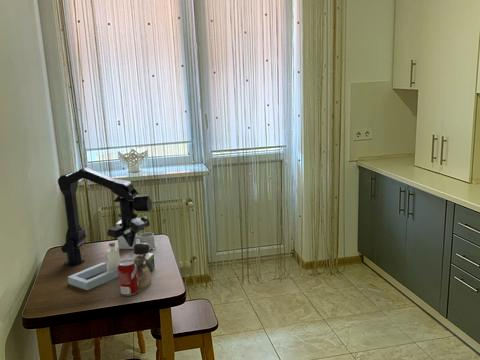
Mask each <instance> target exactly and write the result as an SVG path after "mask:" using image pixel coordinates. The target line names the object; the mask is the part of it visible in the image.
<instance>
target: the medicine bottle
mask: <svg viewBox="0 0 480 360" xmlns="http://www.w3.org/2000/svg"><path fill="white" fill-rule="evenodd" d="M144 253H145V254H146V256H145V258H146V259H147V261H148V266H147V267H148V269H149V271H150V274H151V275H152V273H153V272H154V271H155V269H156V265H155V263H156V262H155V255H154V253H153V252H150V251H149V245H148V244H146V243H140V242H138V244H136V245H135V246H134V248H133V255H134V256H132V258H130V260H133V261H134V258H135V257H136V256H137V255H138V254H140V255H141V256H142V255H143V254H144ZM143 264H146V261H144V262H143Z"/></svg>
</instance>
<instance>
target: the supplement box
mask: <svg viewBox="0 0 480 360" xmlns="http://www.w3.org/2000/svg"><path fill="white" fill-rule="evenodd" d="M120 223H121V219H119V221H117V222H116V223H115V227H118V228H122V226H120ZM136 236H138V232H137V233H136V235H135V237H136ZM116 239H117V249H119V250H134V246H135V245H134V243H133V246H132V247H130V246H129V245H128V243H127V242H126V240H125V239H124V237H123V236H120V237H117V238H116ZM136 244H139V240H138V239H136Z"/></svg>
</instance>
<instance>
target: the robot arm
mask: <svg viewBox="0 0 480 360" xmlns="http://www.w3.org/2000/svg"><path fill="white" fill-rule="evenodd" d="M83 179H85V180H87V181H89V182H92V183H94V184H97V185H99V186H102V187H103V188H107V189H108V190H110V191H111V192H112V193H113V194H114V195H116V196H117V197H116V198H115V199H114V200H113V202H114V203H118V204H119V211H120V212H119V214H118V217H119V218H120V220H121V223H120V226H122V228H118V227H116V226H114V227H111V228H108V230H106V231H107V237H112V238H116V239H117V237H120V236H123V237H124V239H125V240H126V242H127V243H128V245H129V246H130V247H132V246H133V243H134V239H135V235H136V233H137V234H138V233H139V232H140V231H144V230H145V228H147V227H150V226H151V223H150V220H149V219H148V217H147V216H143V217H138V214H137V213H138V212H139V213H140V212H142V213H144V212H151V211H152V208H153V201H152V199H151V197H150V195H149V194H146V195H145V194H144V195H141V194H140V193H139V192H138V190H137V189H136V188H135V187H134V185H133V183H132V182H131V181H130V180H125V179H117V178H112V177H110V176H108V175H106V174H103V173H101V172H99V171H95V170H92V169H90V168H89V167H85V166H84V167H83V168H80V169H79V170H77V171H75V172H67V173H65V174H63V175H61V176H59V177H58V179H57V183H58V184H57V185H58V187H59V190H60V192H61V193H62V195H63V198H64V206H65V213H66V221H67V230H66V233H65V243H64V244H63V245H62V246H61V248H60V249H61V252H62V253H65V256H66V257H65V258H66V261H64V262H63V264H64V265H68V266H71V267H74V266H77V265H78V264H82V263H84V262H85V259H82V253H81V249H80V248H81V247H83V243H85V241H86V238H87V234H86V228H82V227H81V224H80V216H79V210H78V201H77V200H78V199H77V190H78V187H79V181H81V180H83Z"/></svg>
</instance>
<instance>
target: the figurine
mask: <svg viewBox="0 0 480 360" xmlns="http://www.w3.org/2000/svg"><path fill="white" fill-rule="evenodd" d="M145 256H146V254H145V253H144V254H143V255H142V256H141V255H140V254H138V255H137V256H136V257H135V258H134V263H135V264H136V268H137V277H138V286H139V289H140V288H141V289H142V288H146V287H149V286H150V285H151V284H152V273H151V274H150V271H149V269H148V267H147V266H148V261H147V259H146V258H145ZM144 261H146V264H143V262H144Z"/></svg>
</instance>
